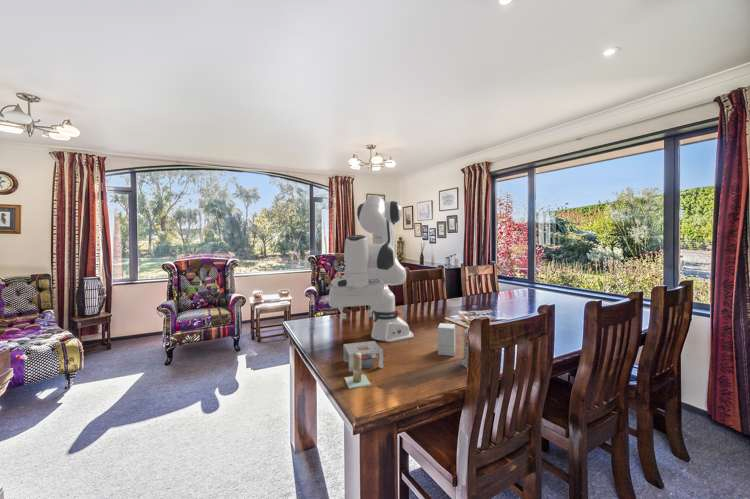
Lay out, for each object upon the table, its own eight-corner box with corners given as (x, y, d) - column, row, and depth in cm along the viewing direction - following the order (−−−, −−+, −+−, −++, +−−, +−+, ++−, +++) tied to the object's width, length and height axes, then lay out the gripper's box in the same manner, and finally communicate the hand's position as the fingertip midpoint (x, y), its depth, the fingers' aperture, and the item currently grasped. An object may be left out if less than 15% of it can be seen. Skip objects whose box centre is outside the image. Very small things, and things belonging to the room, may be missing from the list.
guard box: (374, 356, 141) (374, 340, 140) (383, 367, 129) (383, 350, 129) (343, 360, 137) (343, 344, 136) (349, 372, 125) (349, 354, 125)
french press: (472, 371, 126) (472, 308, 125) (453, 360, 137) (454, 303, 135) (491, 366, 130) (492, 306, 129) (471, 356, 141) (472, 300, 139)
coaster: (364, 376, 122) (364, 374, 122) (370, 385, 114) (370, 384, 114) (344, 378, 120) (344, 377, 120) (348, 388, 112) (348, 387, 112)
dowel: (360, 378, 119) (360, 352, 118) (362, 381, 116) (362, 355, 115) (352, 379, 118) (352, 353, 117) (354, 383, 115) (354, 356, 114)
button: (367, 361, 135) (367, 354, 135) (369, 365, 131) (369, 358, 130) (356, 362, 133) (356, 355, 133) (359, 366, 129) (359, 359, 129)
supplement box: (455, 350, 148) (455, 324, 147) (454, 356, 141) (454, 328, 140) (439, 348, 150) (439, 322, 150) (437, 354, 143) (437, 327, 143)
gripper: (381, 277, 121) (381, 313, 122) (327, 280, 115) (327, 317, 116) (386, 279, 115) (386, 317, 116) (330, 282, 109) (330, 322, 110)
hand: (356, 317), depth 116 cm, fingers open, 8 cm apart
